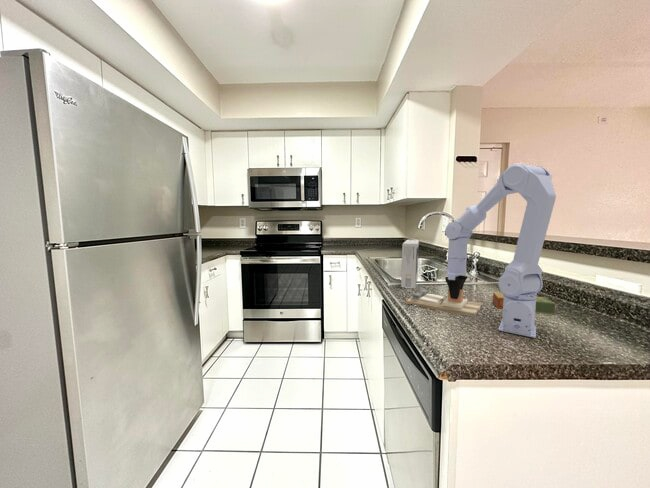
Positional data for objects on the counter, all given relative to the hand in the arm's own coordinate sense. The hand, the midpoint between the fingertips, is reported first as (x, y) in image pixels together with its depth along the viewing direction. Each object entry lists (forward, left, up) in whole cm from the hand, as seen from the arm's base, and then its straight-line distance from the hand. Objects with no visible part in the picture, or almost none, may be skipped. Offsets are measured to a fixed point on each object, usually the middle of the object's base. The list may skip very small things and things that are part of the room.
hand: (455, 297), depth 94 cm
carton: (+14, -18, -4) cm, 23 cm away
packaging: (+30, +27, -4) cm, 40 cm away
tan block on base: (0, 0, -2) cm, 2 cm away
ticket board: (0, +4, -3) cm, 5 cm away
